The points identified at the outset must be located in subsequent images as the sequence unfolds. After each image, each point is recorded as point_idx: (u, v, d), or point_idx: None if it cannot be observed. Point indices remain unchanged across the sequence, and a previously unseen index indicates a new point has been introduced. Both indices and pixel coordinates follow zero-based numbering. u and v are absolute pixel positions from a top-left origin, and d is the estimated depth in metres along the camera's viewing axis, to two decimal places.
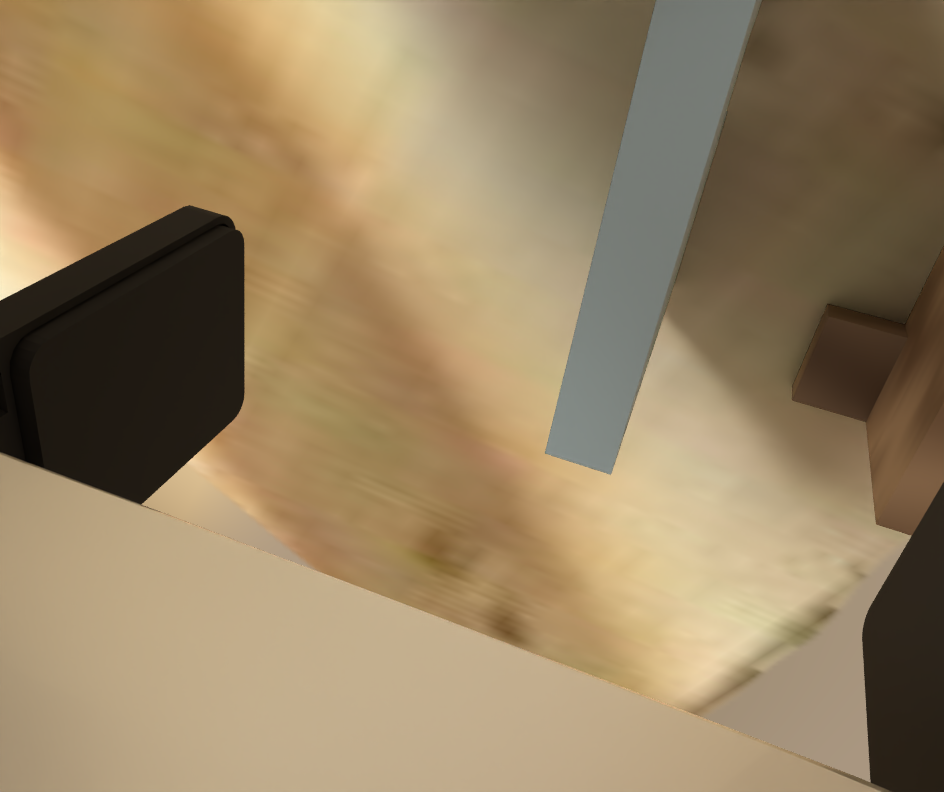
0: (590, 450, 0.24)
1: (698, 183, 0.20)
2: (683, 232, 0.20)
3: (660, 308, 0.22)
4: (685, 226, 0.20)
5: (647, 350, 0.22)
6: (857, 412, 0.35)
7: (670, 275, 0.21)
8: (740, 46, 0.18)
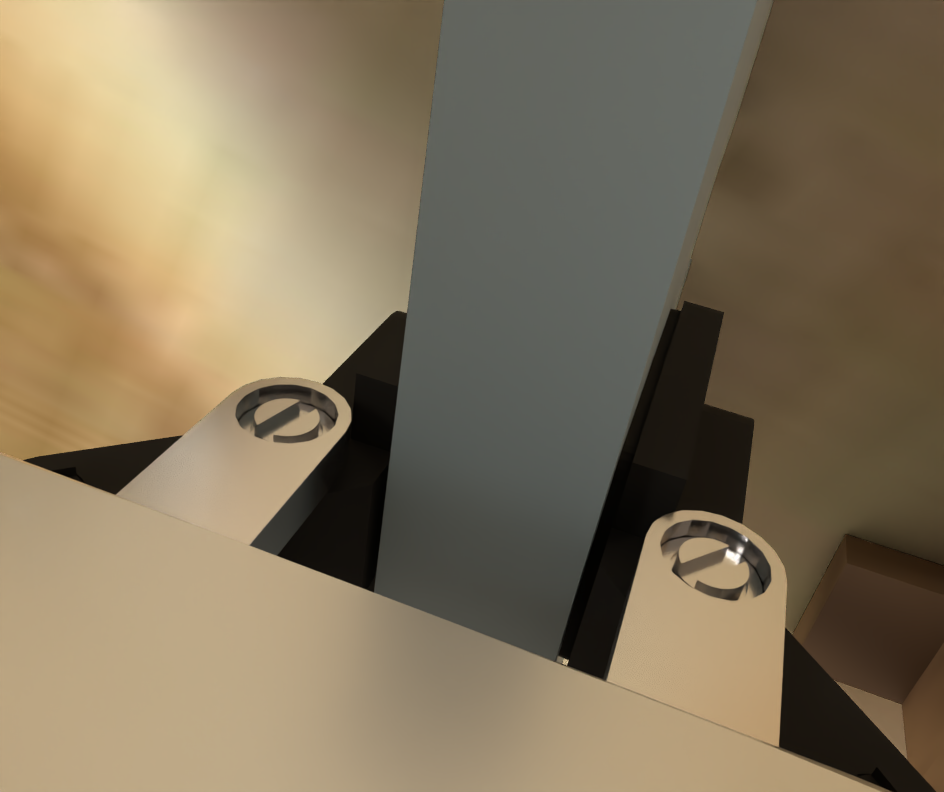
0: None
1: (560, 631, 0.08)
2: None
3: None
4: None
5: None
6: (889, 691, 0.23)
7: None
8: (639, 372, 0.07)
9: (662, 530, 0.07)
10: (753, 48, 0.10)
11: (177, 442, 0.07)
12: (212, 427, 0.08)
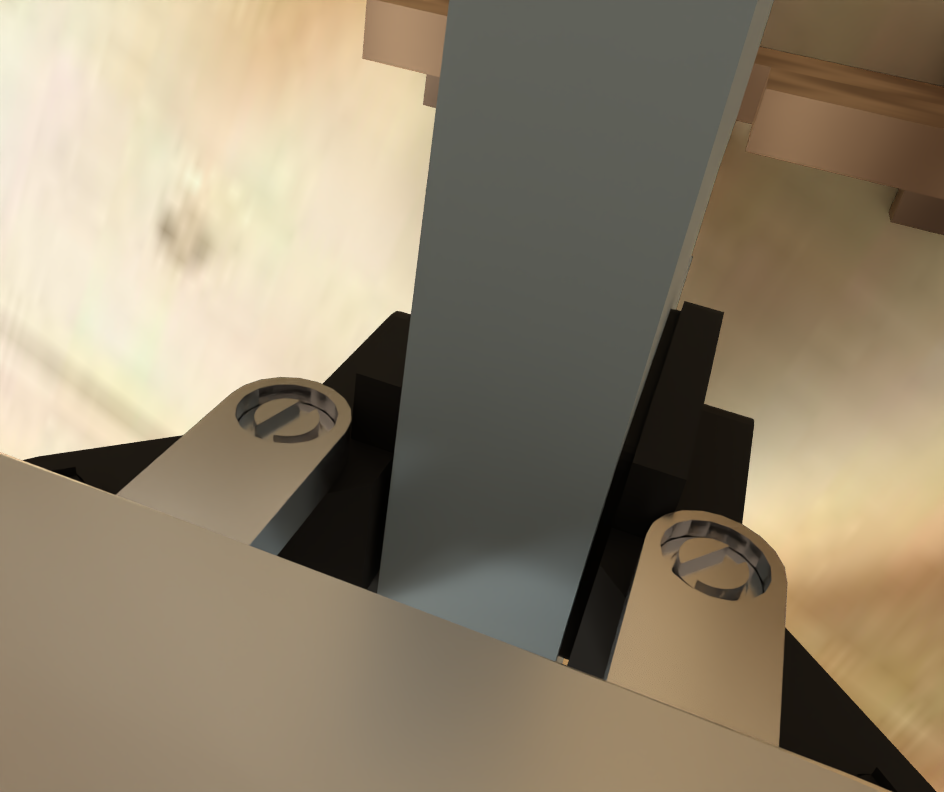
0: None
1: (564, 621, 0.08)
2: None
3: None
4: None
5: None
6: None
7: None
8: (643, 362, 0.07)
9: (662, 530, 0.07)
10: (755, 43, 0.10)
11: (178, 443, 0.07)
12: (212, 427, 0.08)
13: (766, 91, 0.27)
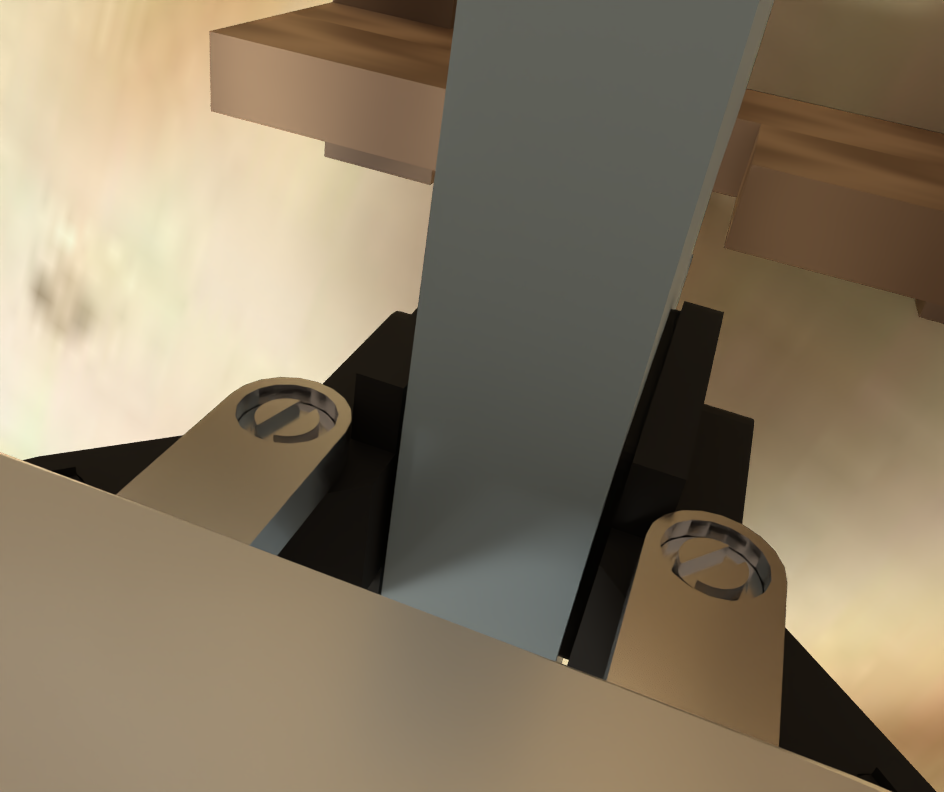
0: None
1: (567, 611, 0.09)
2: None
3: None
4: None
5: None
6: None
7: None
8: (646, 354, 0.07)
9: (662, 530, 0.07)
10: (756, 42, 0.10)
11: (178, 443, 0.07)
12: (212, 427, 0.08)
13: (752, 168, 0.19)
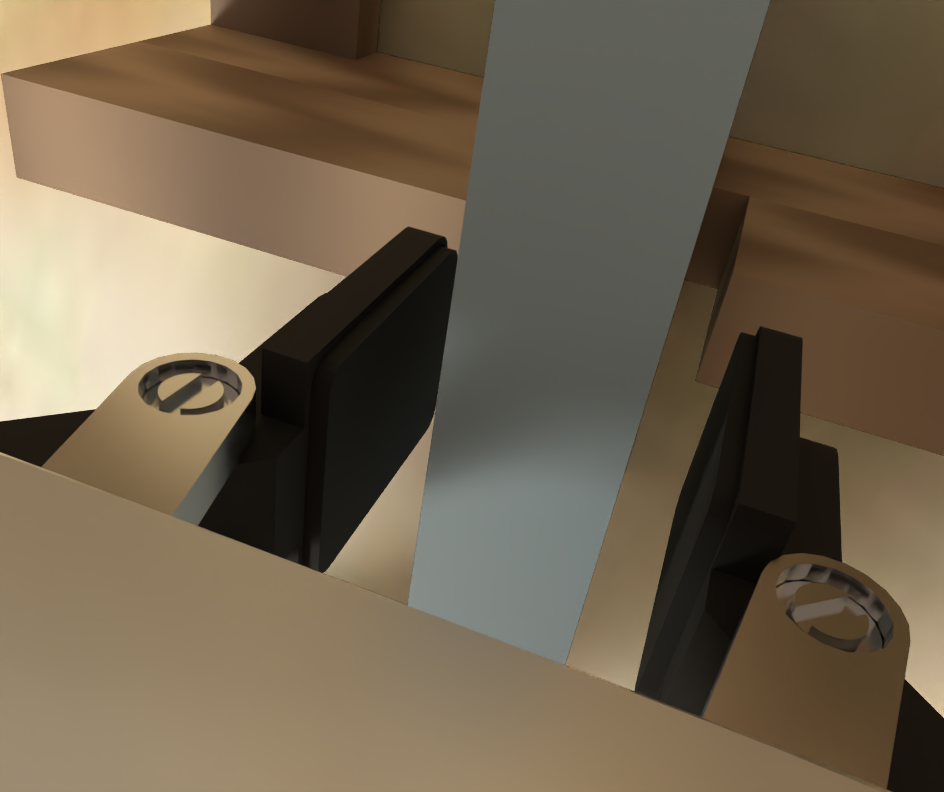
0: None
1: (590, 572, 0.09)
2: (567, 646, 0.10)
3: None
4: (570, 638, 0.10)
5: None
6: None
7: None
8: (665, 328, 0.08)
9: (774, 575, 0.07)
10: None
11: (84, 424, 0.07)
12: (116, 407, 0.08)
13: (733, 278, 0.13)
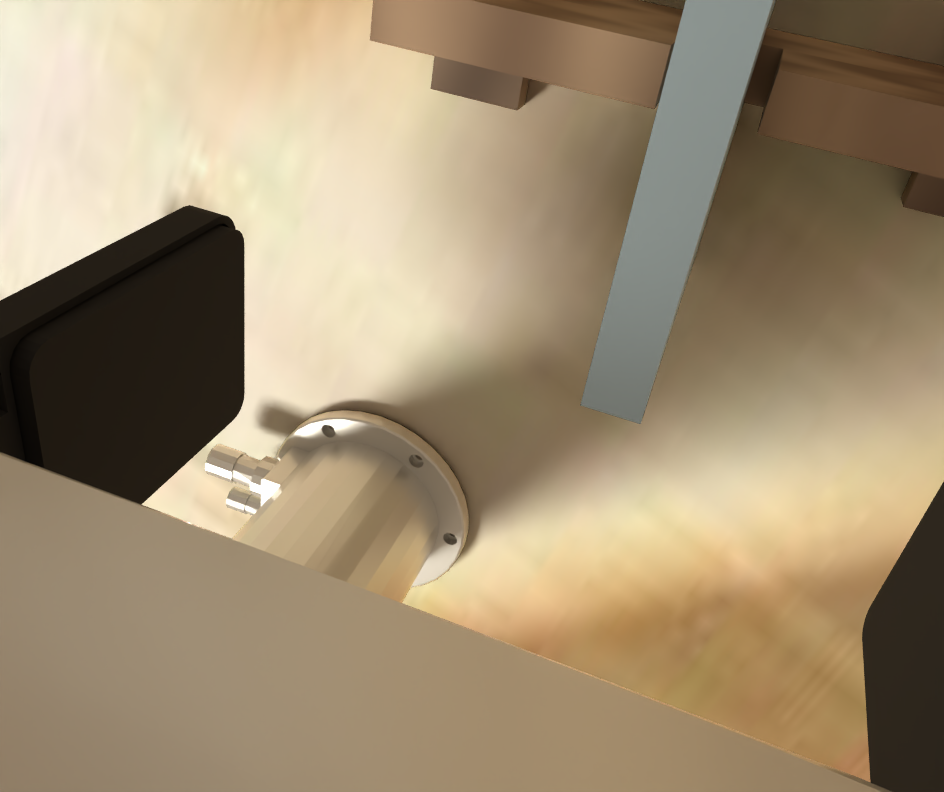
0: (622, 401, 0.27)
1: (723, 155, 0.22)
2: (709, 199, 0.23)
3: (687, 269, 0.24)
4: (711, 194, 0.23)
5: (675, 307, 0.25)
6: None
7: (697, 238, 0.24)
8: (761, 33, 0.21)
9: None
10: None
11: None
12: None
13: (779, 72, 0.26)
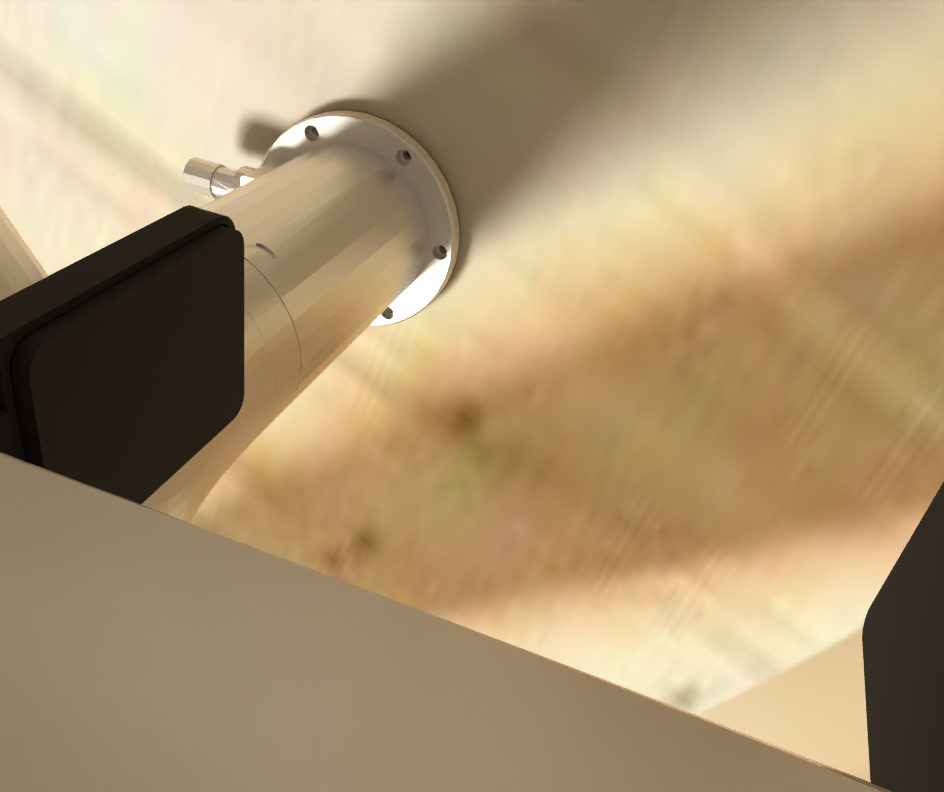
0: None
1: None
2: None
3: None
4: None
5: None
6: None
7: None
8: None
9: None
10: None
11: None
12: None
13: None
